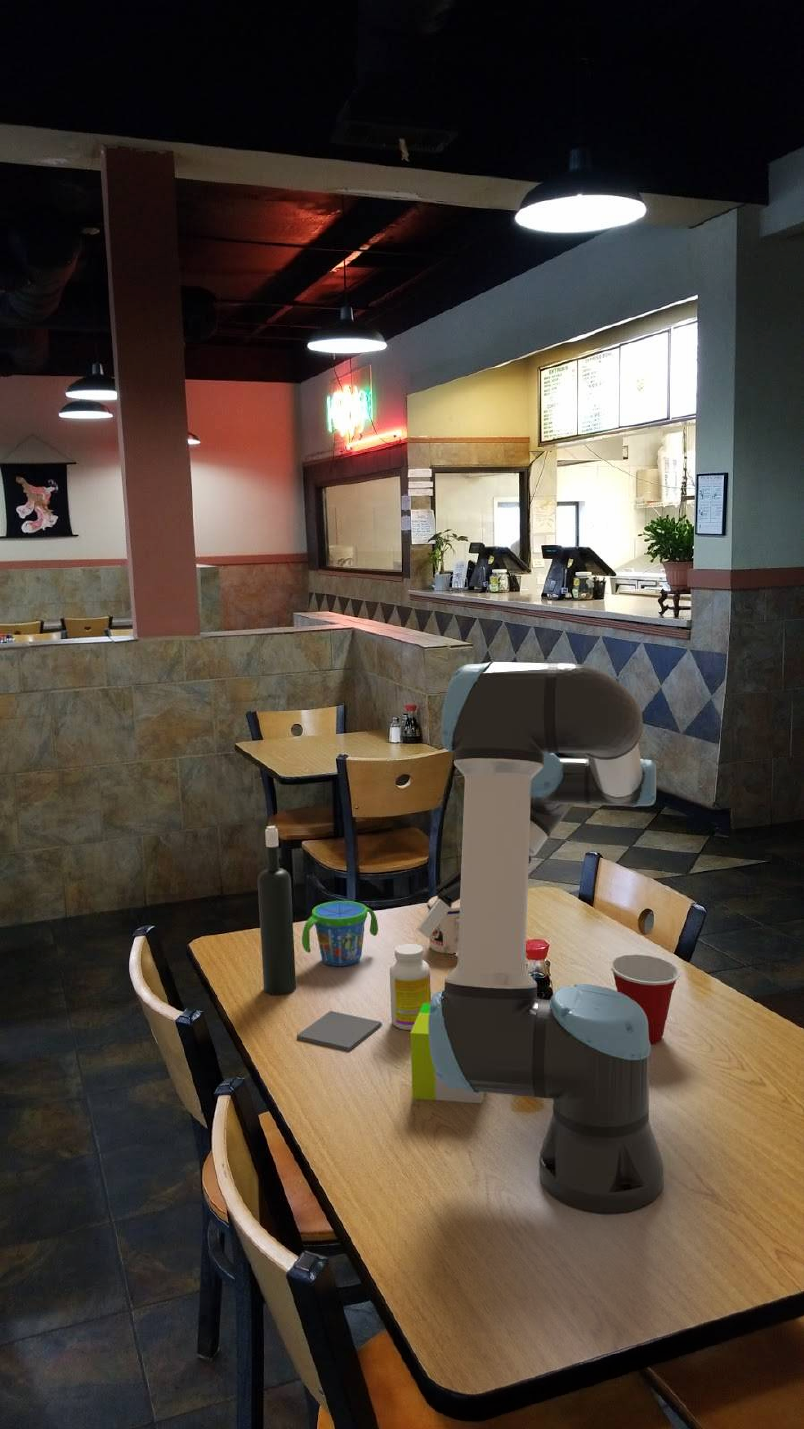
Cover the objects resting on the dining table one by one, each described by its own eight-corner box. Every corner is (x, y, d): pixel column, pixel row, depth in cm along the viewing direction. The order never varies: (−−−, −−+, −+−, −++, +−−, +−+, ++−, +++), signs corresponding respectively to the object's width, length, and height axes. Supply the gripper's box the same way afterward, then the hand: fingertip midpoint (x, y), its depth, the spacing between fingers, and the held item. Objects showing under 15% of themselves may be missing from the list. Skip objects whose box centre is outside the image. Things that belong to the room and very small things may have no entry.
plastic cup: (677, 1057, 163) (677, 982, 161) (605, 1048, 167) (605, 975, 165) (682, 1026, 173) (683, 955, 172) (615, 1018, 177) (614, 949, 175)
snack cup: (366, 943, 214) (364, 894, 212) (390, 960, 205) (388, 909, 203) (293, 959, 207) (290, 908, 205) (314, 978, 198) (311, 925, 196)
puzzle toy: (482, 1103, 152) (480, 1037, 151) (412, 1098, 154) (410, 1032, 153) (490, 1069, 162) (489, 1006, 160) (425, 1065, 164) (423, 1003, 162)
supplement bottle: (438, 1027, 176) (435, 952, 174) (400, 1034, 174) (397, 959, 172) (422, 1011, 182) (419, 938, 180) (385, 1018, 180) (382, 945, 178)
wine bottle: (302, 986, 194) (294, 824, 189) (282, 998, 190) (273, 832, 185) (278, 980, 197) (269, 821, 193) (257, 991, 193) (247, 828, 188)
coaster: (349, 1051, 169) (349, 1047, 169) (296, 1038, 174) (296, 1035, 174) (381, 1025, 178) (381, 1021, 177) (330, 1014, 182) (330, 1010, 182)
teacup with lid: (422, 941, 214) (420, 884, 212) (465, 935, 216) (464, 879, 215) (441, 963, 203) (440, 903, 201) (487, 956, 205) (485, 897, 203)
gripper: (571, 876, 174) (494, 984, 170) (491, 840, 196) (421, 935, 192) (543, 850, 171) (464, 959, 167) (465, 816, 193) (393, 912, 189)
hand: (440, 946), depth 180 cm, fingers open, 13 cm apart
